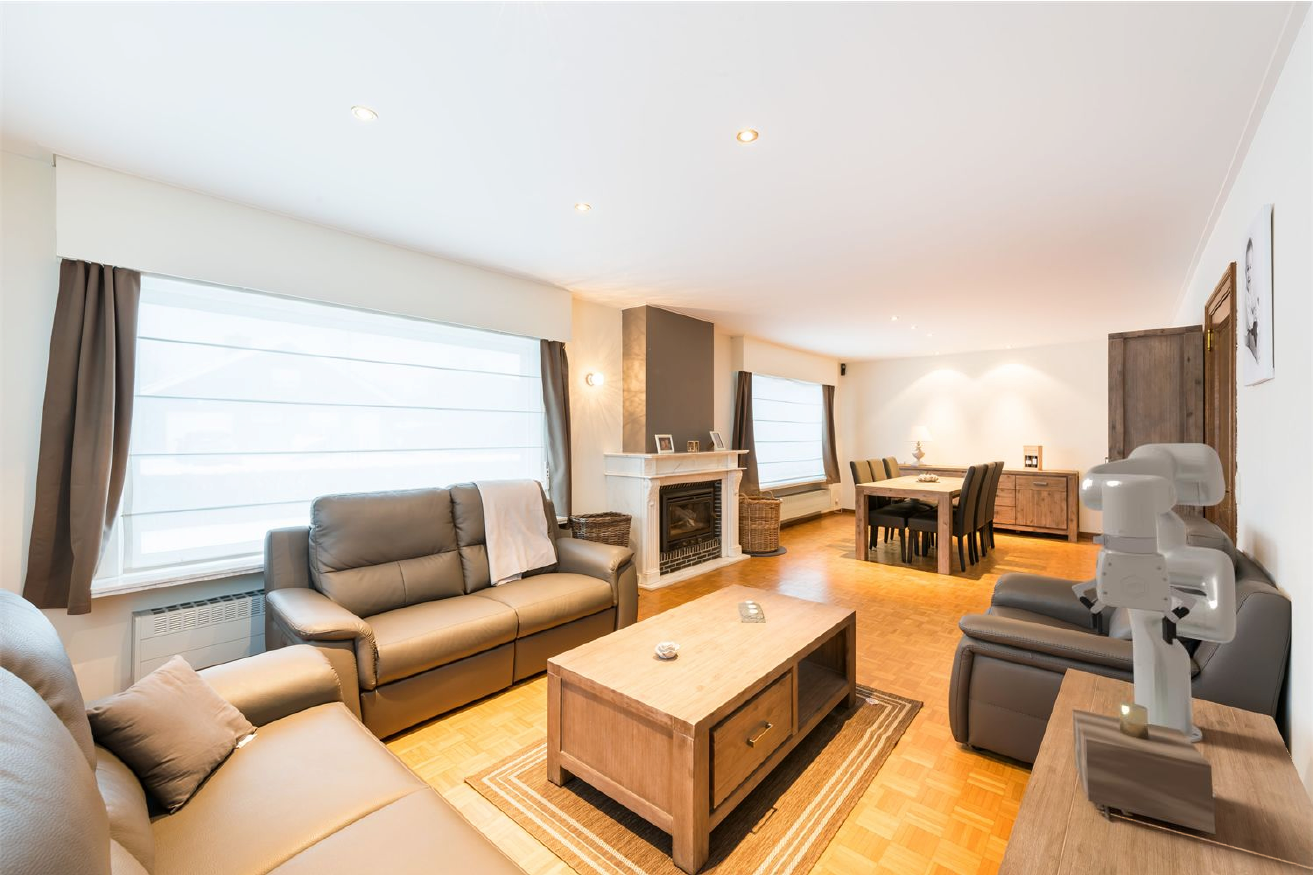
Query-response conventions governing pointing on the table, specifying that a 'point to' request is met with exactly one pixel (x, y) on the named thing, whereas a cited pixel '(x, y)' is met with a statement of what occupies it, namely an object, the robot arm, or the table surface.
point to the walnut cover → (1143, 767)
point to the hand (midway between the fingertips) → (1132, 637)
